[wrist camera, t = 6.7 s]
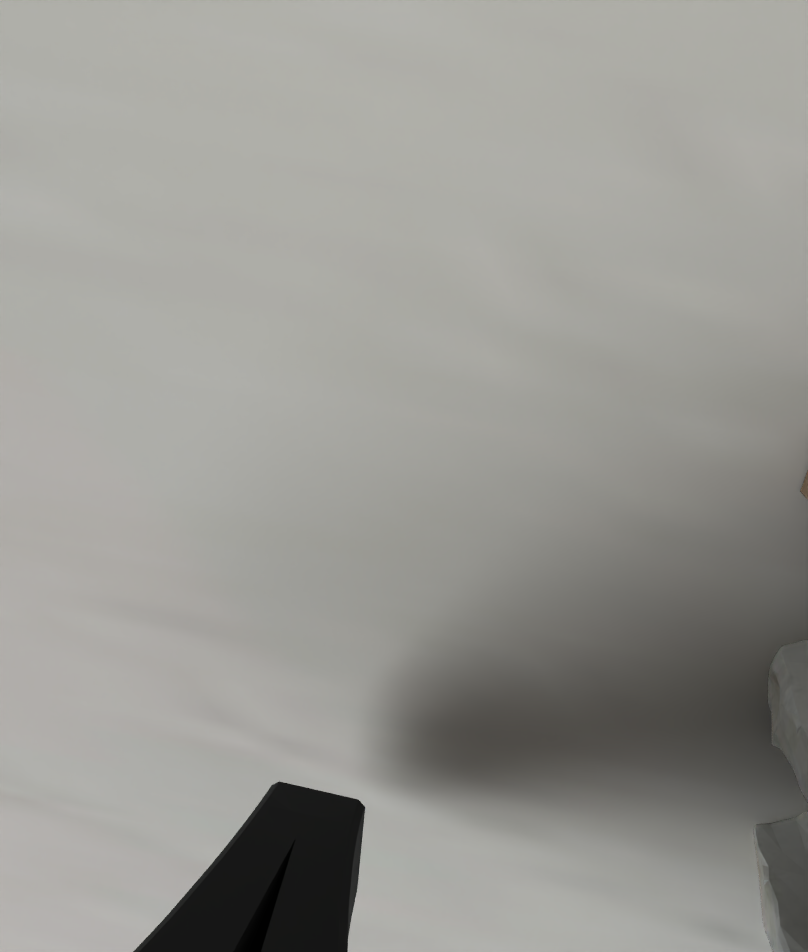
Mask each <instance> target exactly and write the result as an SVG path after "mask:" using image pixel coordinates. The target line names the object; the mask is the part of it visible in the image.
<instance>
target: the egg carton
mask: <svg viewBox="0 0 808 952" xmlns="http://www.w3.org/2000/svg"><path fill="white" fill-rule="evenodd" d="M768 703H769V707H770V710H771V713H772V745H773V746H775V747H777V748H779V749H781V750H782V752H783V754H784V755H785V757H786V759H787V760H788V762H789V763H790V765H791V767H792V768H793V770H794V772H795V775H796V779H797V782H798V785H799V788H800V790H801V792H802V794H803V795H804V797H805V799H806V801H807V802H808V640H804V641H800V642H796V643H791V644H787V645H784V646H782V647H781V648H780V649H779V650H778V652H777V653H776V655H775V656H774V659H773V661H772V663H771V665H770V671H769V676H768ZM754 840H755V848H756V855H757V863H758V873H759V882H760V892H761V906H762V920H763V924H764V928H765V932H766V934H767V937H768V940H769V942H770V945H771V947H772V950H773V952H808V811H806V812H804V813H803V814H801V815H799V816H797V817H795V818H792V819H788V820H784V821H780V822H775V823H771V824H757V825H755V826H754Z"/></svg>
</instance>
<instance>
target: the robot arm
mask: <svg viewBox="0 0 808 952" xmlns="http://www.w3.org/2000/svg"><path fill="white" fill-rule="evenodd" d="M364 813H365V807H364V806H363V804H362V803H361V802H360V801H359V800H357V799H353V798H349V797H344V796H340V795H336V794H331V793H327V792H323V791H318V790H314V789H309V788H305V787H301V786H296V785H292V784H288V783H283V782H278V783H276V784H274V785H272V786H271V787H270V789H269V790H268V792H267V793H266V795H265V796H264V797H263V799H262V800H261V802H260V803H259V804H258V806H257V807H256V808H255V810H254V811H253V812H252V814H251V815H250V816H249V818H248V819H247V820H246V822H245V823H244V824H243V826H242V827H241V828H240V830H239V831H238V832H237V833H236V835H235V836H234V837H233V838H232V840H231V841H230V842H229V843H228V845H227V846H226V847H225V848H224V850H223V851H222V852H221V853H220V855H219V856H218V857H217V858H216V859H215V861H214V862H213V863H212V864H211V866H210V867H209V868H208V869H207V870H206V871H205V873H204V874H203V875H202V876H201V877H200V878H199V880H198V881H197V882H196V883H195V884H194V885H193V886H192V888H191V889H190V890H189V891H188V892H187V893H186V895H185V896H184V897H183V898H182V899H181V900H180V901H179V903H178V904H177V905H176V906H175V907H174V908H173V910H172V911H171V912H170V913H169V914H168V915H167V916H166V917H165V919H164V920H163V921H162V922H161V923H160V924H159V925H158V926H157V927H156V928H155V929H154V931H153V932H152V933H151V934H150V935H149V936H148V937H147V938H146V939H145V940H144V941H143V942H142V943H141V944H140V945H139V946H138V947H137V949H136V950H135V951H134V952H347V949H348V934H349V928H350V922H351V916H352V912H353V907H354V902H355V897H356V892H357V885H358V875H359V865H360V854H361V844H362V834H363V823H364Z"/></svg>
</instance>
